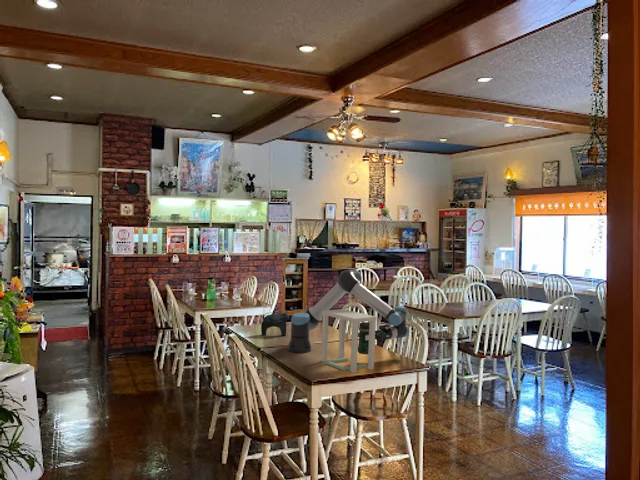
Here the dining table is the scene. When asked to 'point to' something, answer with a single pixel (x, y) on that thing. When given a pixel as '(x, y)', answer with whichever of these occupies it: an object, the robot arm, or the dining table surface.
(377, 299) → the robot arm
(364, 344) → the dark green bottle
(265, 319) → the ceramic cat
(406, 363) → the dining table surface
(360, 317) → the cream stool
